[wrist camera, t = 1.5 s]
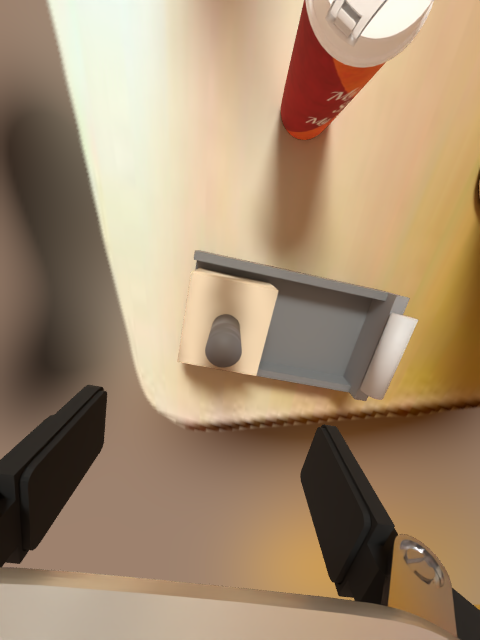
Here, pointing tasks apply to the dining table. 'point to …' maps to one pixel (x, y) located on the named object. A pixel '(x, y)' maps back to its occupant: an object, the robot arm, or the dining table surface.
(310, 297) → the bay
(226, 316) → the beige block with peg
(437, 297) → the dining table surface
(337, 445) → the robot arm
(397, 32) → the paper cup
